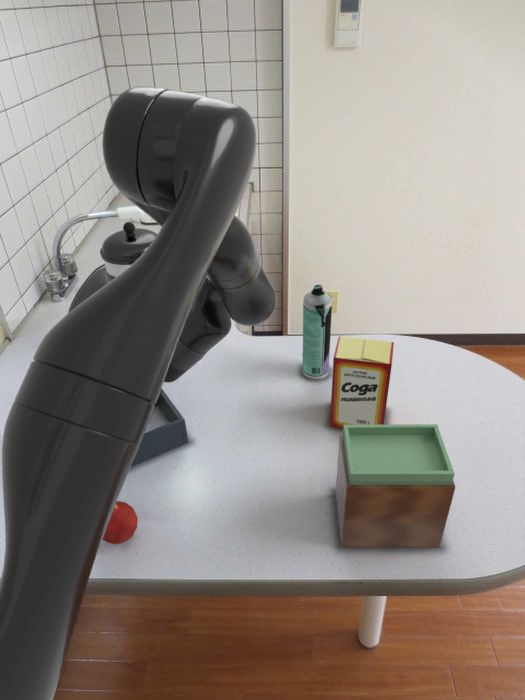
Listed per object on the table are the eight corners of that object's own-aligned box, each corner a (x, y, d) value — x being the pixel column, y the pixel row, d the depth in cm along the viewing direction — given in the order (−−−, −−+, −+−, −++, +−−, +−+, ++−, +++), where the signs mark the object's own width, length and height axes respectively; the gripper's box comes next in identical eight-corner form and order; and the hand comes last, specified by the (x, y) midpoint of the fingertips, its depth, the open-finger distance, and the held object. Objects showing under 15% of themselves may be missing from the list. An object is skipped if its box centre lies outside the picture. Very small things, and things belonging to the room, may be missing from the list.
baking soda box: (329, 426, 96) (333, 355, 87) (334, 403, 101) (338, 334, 92) (382, 434, 94) (392, 362, 85) (384, 410, 99) (394, 340, 90)
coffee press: (102, 350, 119) (69, 224, 102) (162, 324, 127) (141, 203, 110) (141, 385, 108) (113, 250, 91) (204, 354, 116) (189, 225, 99)
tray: (349, 485, 68) (350, 474, 67) (342, 435, 76) (343, 424, 75) (452, 485, 68) (454, 473, 67) (434, 434, 75) (437, 424, 74)
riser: (341, 547, 76) (346, 486, 68) (335, 493, 84) (339, 433, 76) (439, 547, 75) (455, 486, 68) (424, 493, 83) (437, 433, 76)
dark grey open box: (115, 474, 88) (108, 451, 85) (91, 427, 98) (85, 405, 95) (188, 442, 94) (184, 419, 91) (159, 401, 104) (155, 379, 101)
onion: (94, 551, 76) (81, 516, 72) (112, 519, 81) (102, 484, 76) (131, 559, 75) (120, 524, 71) (147, 525, 80) (138, 490, 75)
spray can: (333, 373, 109) (338, 288, 98) (312, 382, 107) (314, 296, 95) (318, 360, 113) (321, 277, 101) (297, 369, 111) (297, 284, 99)
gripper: (175, 309, 87) (123, 360, 96) (138, 358, 75) (83, 411, 85) (209, 339, 89) (154, 386, 98) (178, 392, 77) (119, 439, 86)
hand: (121, 397), depth 91 cm, fingers closed on supplement bottle, 5 cm apart
